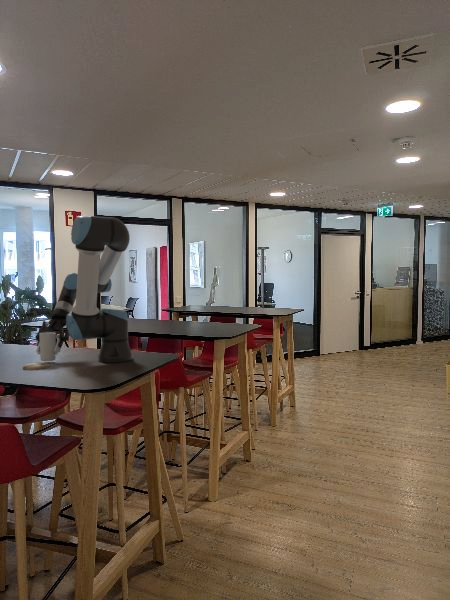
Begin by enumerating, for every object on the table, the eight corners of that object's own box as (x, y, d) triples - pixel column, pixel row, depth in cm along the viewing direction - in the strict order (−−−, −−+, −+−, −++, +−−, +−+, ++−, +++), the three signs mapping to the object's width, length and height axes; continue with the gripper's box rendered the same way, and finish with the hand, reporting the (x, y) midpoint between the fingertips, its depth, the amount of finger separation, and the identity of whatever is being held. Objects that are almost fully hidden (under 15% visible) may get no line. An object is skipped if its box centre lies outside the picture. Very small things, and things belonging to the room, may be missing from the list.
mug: (43, 362, 201) (43, 334, 200) (37, 359, 205) (36, 333, 204) (65, 359, 208) (65, 332, 207) (58, 357, 212) (58, 331, 212)
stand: (56, 366, 197) (55, 364, 197) (32, 371, 188) (32, 368, 188) (40, 363, 203) (40, 361, 203) (17, 368, 194) (17, 365, 194)
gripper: (84, 317, 220) (71, 357, 205) (44, 318, 222) (27, 357, 207) (80, 307, 214) (66, 347, 199) (38, 307, 216) (21, 347, 201)
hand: (46, 352), depth 203 cm, fingers closed on mug, 7 cm apart
